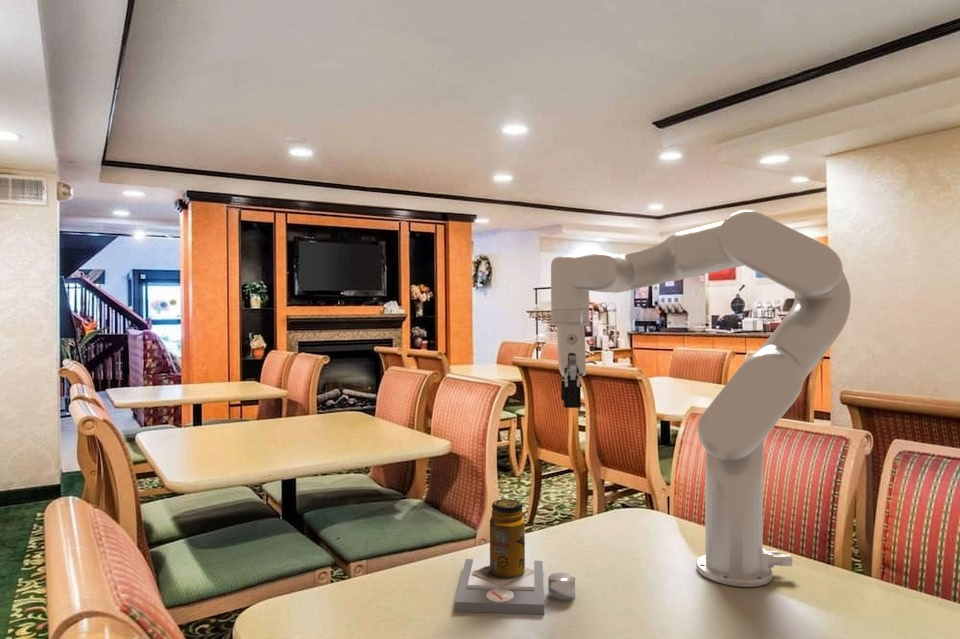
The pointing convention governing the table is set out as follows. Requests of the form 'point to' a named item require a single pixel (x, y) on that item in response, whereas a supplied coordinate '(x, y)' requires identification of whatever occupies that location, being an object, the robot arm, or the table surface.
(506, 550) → the condiment
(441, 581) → the table surface
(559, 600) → the knob
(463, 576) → the scale
